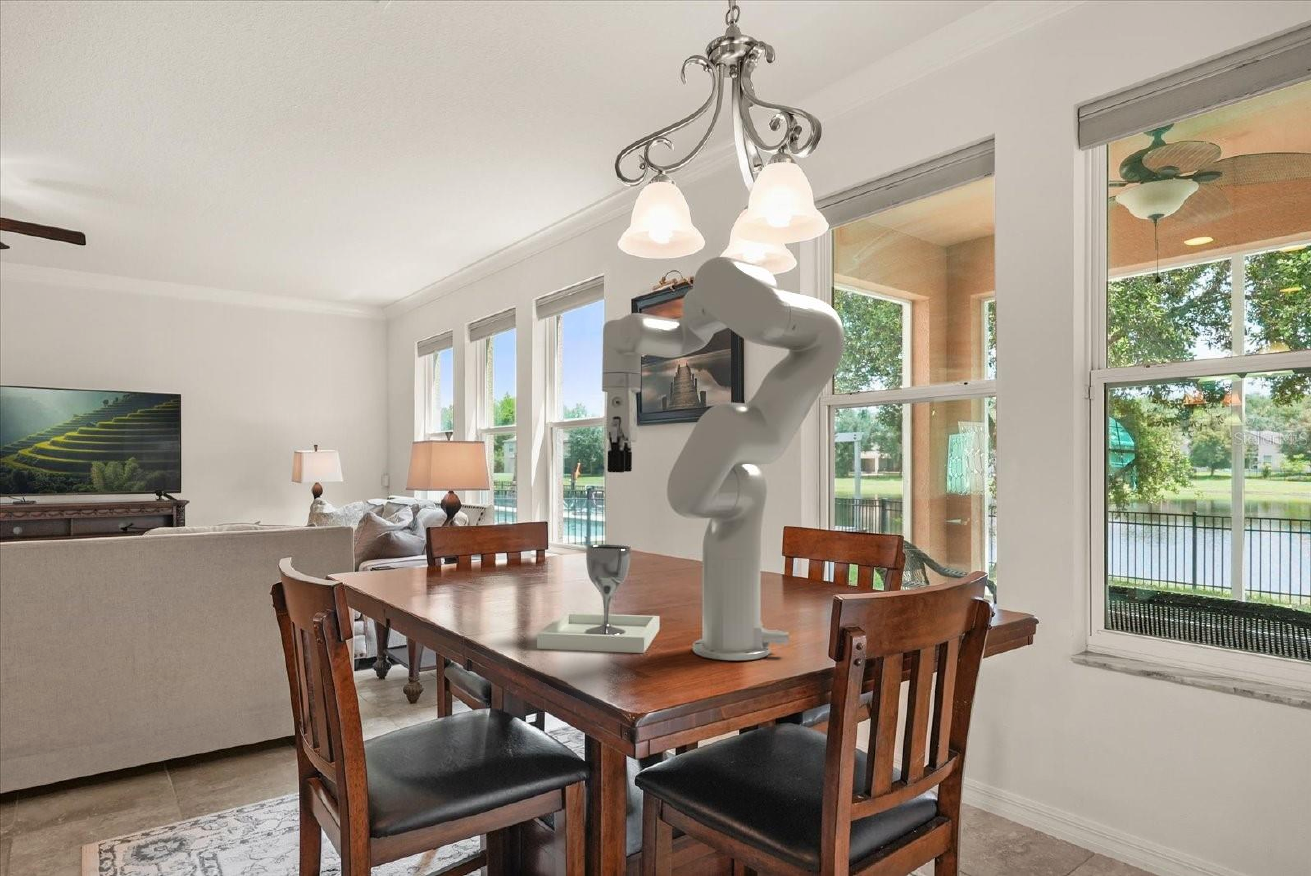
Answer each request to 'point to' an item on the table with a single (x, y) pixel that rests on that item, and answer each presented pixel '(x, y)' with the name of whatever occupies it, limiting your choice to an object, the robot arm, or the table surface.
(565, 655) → the table surface
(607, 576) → the wine glass
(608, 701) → the table surface
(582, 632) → the tray
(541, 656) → the table surface
